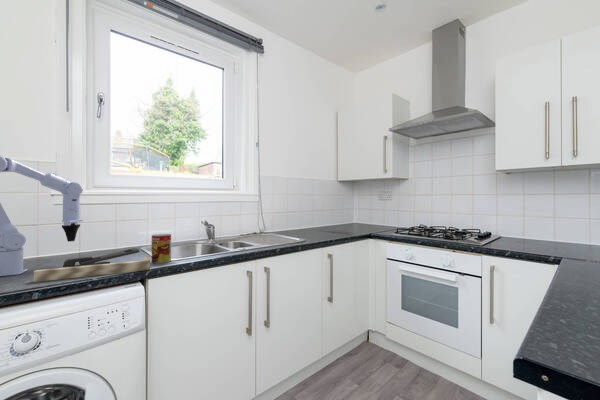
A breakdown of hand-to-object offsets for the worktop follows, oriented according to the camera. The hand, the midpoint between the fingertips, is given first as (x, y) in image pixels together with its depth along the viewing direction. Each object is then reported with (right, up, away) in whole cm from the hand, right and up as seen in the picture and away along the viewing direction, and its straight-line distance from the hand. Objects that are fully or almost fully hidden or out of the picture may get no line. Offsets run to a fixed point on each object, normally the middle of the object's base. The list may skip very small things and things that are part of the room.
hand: (71, 241), depth 119 cm
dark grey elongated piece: (+20, -10, -9) cm, 24 cm away
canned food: (+37, -10, +5) cm, 39 cm away
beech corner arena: (+23, -10, -14) cm, 28 cm away
